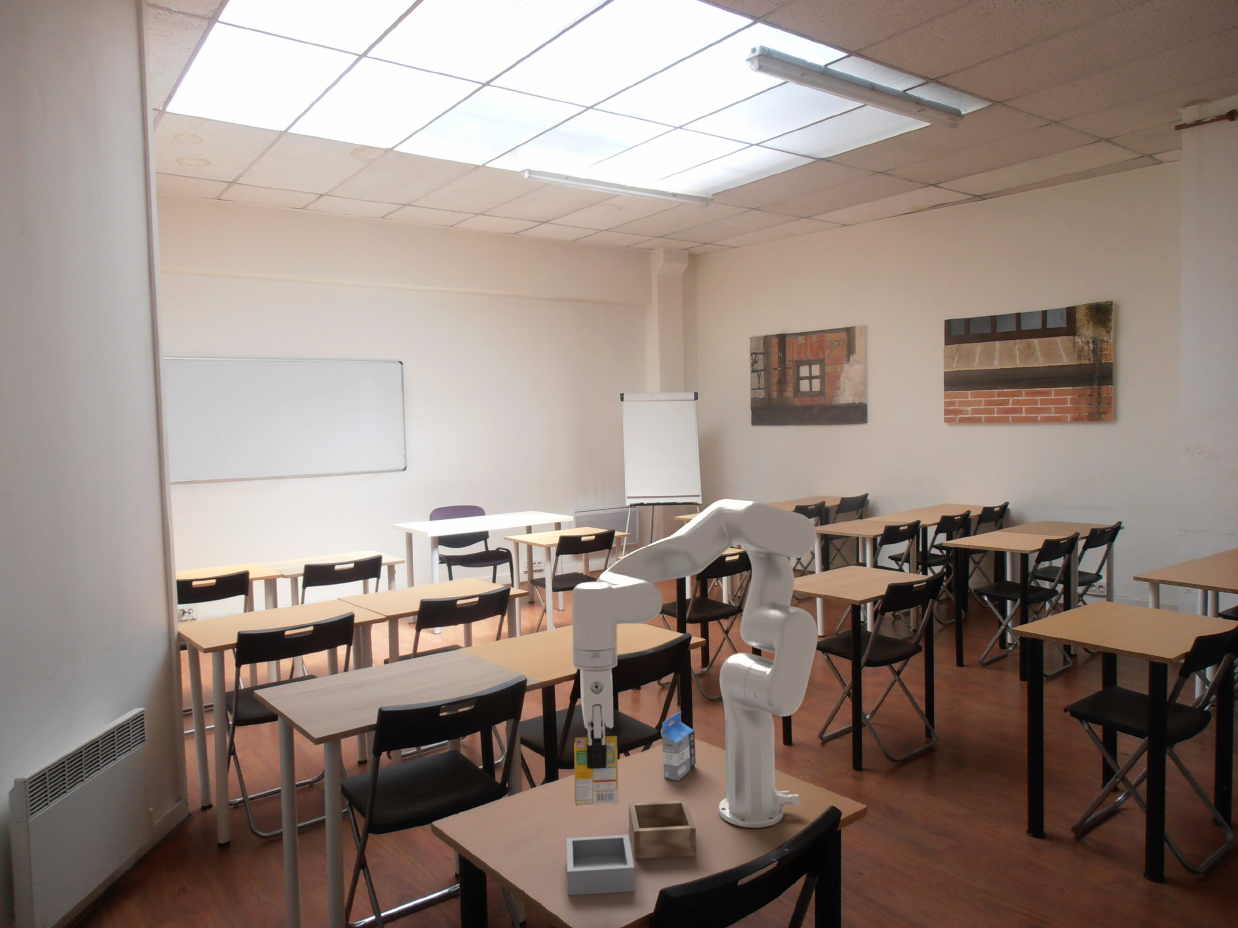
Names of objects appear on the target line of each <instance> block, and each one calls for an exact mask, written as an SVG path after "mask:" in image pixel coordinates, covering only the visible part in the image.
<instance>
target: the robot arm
mask: <svg viewBox="0 0 1238 928" xmlns="http://www.w3.org/2000/svg"><path fill="white" fill-rule="evenodd" d="M816 541H817V532H816V528H815V525H814V523H813V522H812V521H811V520H810V518H808V517H807V516H806V515H803V514H802V513H798V512H794V511H792V510H788V509H783V508H781V507H777V506H775V505H771V504H767V503H764V502H759V501H754V500H744V499H743V500H742V499H732V498H731V499H729V498H727V499H726V498H724V499H720V500H717V501H715V502H713V503H711V504H710V505H709V506H708V507H707V508H705V509H704V510H702V512H700V513H699V514H697V515H696V516H695V517H694V518H693V519H691V520H690V521H689V522H687V523H686V524H685V525H684V526H681V528H680V529H678V530H676V532H675V533H673V534H671V535H670V536H668V537H666V538H662V539H660V540H657V541H655V542H654V543H650V544H649V545H645V546H643V547H641V548H639V549H637V550H634V551H632V552H630V553H628V554H627V555H625V556H623V557H622V558H620V559H619V560H618V561H616V562H615V563H613V564H612V565H611V566H609V568H607V569H606V570H605V571H604V572H603V573H601V574H600V575H599V577H597V579H596V581H587V582H580V583H579V584H577V585H576V586H575V587H574V588H573V590H572V598H571V600H572V602H571V603H572V607H571V608H572V609H571V610H572V665H573V667H574V668H575V669H577V670H579V672H580V673H579V674H580V675H579V677H580V678H579V679H580V703H581V710H582V718H583V725H584V729H586V731H587V734H586V735H585V737H588V741H587V742H588V744H587V767H588V768H589V769H595V768H605V767H606V743H605V736H606V733H605V732H606V728H609V729H613V727H614V696H613V690H614V689H613V673H612V669H613V668H615V667H617V666H618V625H619V624H625V625H627V624H631V625H632V624H633V625H634V624H636V625H637V624H645V623H649V622H650V621H652V620H654V619H655V618H656V617H657V616H658V615H659V614H660V612H661V611H662V607H663V603H664V599H663V595H662V592H661V590H660V588H658V586H656V585H655V583H659V582H662V581H667V580H668V581H669V580H674V579H682V578H686V577H690V576H695V575H697V574H700V573H701V572H702V571H704V570H705V569H706V568H707V567H708V566H710V565H711V564H712V563H713V562H714V561H715V560H717V559H718V558H719V557H720V556H722V554H724V553H725V552H726V551H728V550H729V549H730V548H732V547H733V546H735V545H736V546H737V545H738V546H742V547H743V548H744V550H745V552H746V554H747V555H748V559H749V561H750V564H751V580H750V585H749V588H748V593H747V598H746V600H745V605H744V608H743V613H742V616H741V619H740V620H741V622H740V629H739V635H740V637H741V639H742V641H744V642H745V644H747V645H748V646H750V647H752V648H754V649H755V648H756V649H759V650H762V651H765V652H769V653H773V654H774V658H773V660H772V659H770V658H767V657H764V656H760V655H757V654H754V653H749V652H737V653H733V654H732V655H729V657H727V658H726V659H725V660H724V662H723V663H722V665H721V667H720V672H719V687H720V692H721V696H722V701H723V706H724V707H723V709H724V717H725V718H724V719H725V783H726V784H725V785H726V787H725V788H726V792H725V794H726V796H725V798H723V799H722V800H721V801H719V804H718V813H719V815H720V817H721V818H722V819H723V820H725V821H726V822H728V823H730V824H732V825H733V826H739V827H742V828H753V829H757V828H766V827H771V826H774V825H776V824H778V823H779V822H781V820H782V819H783V817H784V806H787V805H789V806H799V805H800V803H801V802H800V801H801V800H800V796H799V794H797V793H794V794H790V791H789V790H781V791H778V789H776V777H775V775H776V773H775V772H776V769H775V768H776V767H775V766H776V765H775V761H776V760H775V753H776V752H775V724H774V719H773V715H776V716H779V717H788V716H791V715H793V714H794V713H796V712H797V711H798V709H800V707H801V705H802V703H803V701H804V698H805V695H806V692H807V688H808V684H809V680H810V677H811V672H812V667H813V663H814V659H815V655H816V651H817V645H818V636H819V635H818V626H817V623H816V620H815V619H814V617H813V615H812V614H811V613H810V612H808V611H807V610H805V609H803V608H800V607H796V606H792V605H791V604H792V603H791V602H792V597H793V593H794V588H795V575H794V570H793V566H792V563H791V562H790V559H789V558H791V559H800V558H804V557H805V556H807V555H808V554H810V553H811V551H812V550H813V549H814V547H815V545H816Z"/></svg>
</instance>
